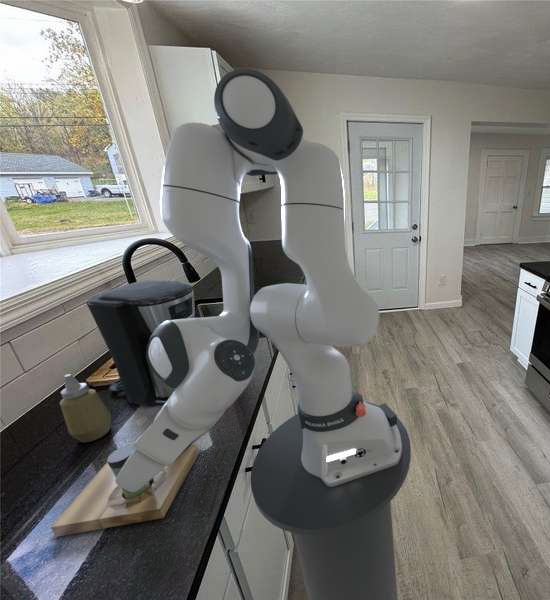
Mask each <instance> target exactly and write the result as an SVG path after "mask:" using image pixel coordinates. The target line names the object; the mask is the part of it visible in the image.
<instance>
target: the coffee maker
mask: <svg viewBox="0 0 550 600" xmlns="http://www.w3.org/2000/svg"><path fill="white" fill-rule="evenodd" d="M85 303H86V306H87V307H88V310H89V312H90V314H91V316H92V318H93V320H94V322H95V324H96V326H97V328H98V330H99V332H100V335H101V336H102V338H103V340H104V343H105V345H106V347H107V349H108V351H109V353H110V356H111V358H112V360H113V363H114V366H115V369H116V372H117V374H118V378H117V379H116V380H115V381H114V383H113V384H111V385H110V386H109V387H108V389H109V391H110V392H114V393H121V392H124V394H125V397H126V399H127V401H128V403H129V404H132V405H133V404H134V405H140V406H144V407H153V406H156V405H164V404H165V403H166V401H167V400H168V399H169V397H170V396H171V395H172V393H173V392H174V391H175V389H172V388H170V387H169V386H167V385H166V384H165V383H164V382H163V381H162V380H161V379H160V378H158V377H157V376H156V375H155V374H154V372H153V371H152V370H151V368H150V366H149V364H148V361H147V358H146V349H147V345H148V342H149V340H150V337H151V336H152V334H153V332H154V331H155V329H156V328H157V327H158V326H159V325H160V324H161V323H163V322H165V321H170V320H177V319H187V318H195V317H196V314H195V313H196V311H195V309H196V308H195V294H194V289H193V286H192V285H191V284H188V283H185V282H179V281H177V280H160V279H159V280H157V279H155V280H141V281H140V280H139V281H135V282H132V283H129V284H125V285H122V286H118V287H115V288H111V289H109V290H106V291H103V292H101V293H97V294H95V295H93V296H91V297H89V298H88V299H86V302H85Z"/></svg>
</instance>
